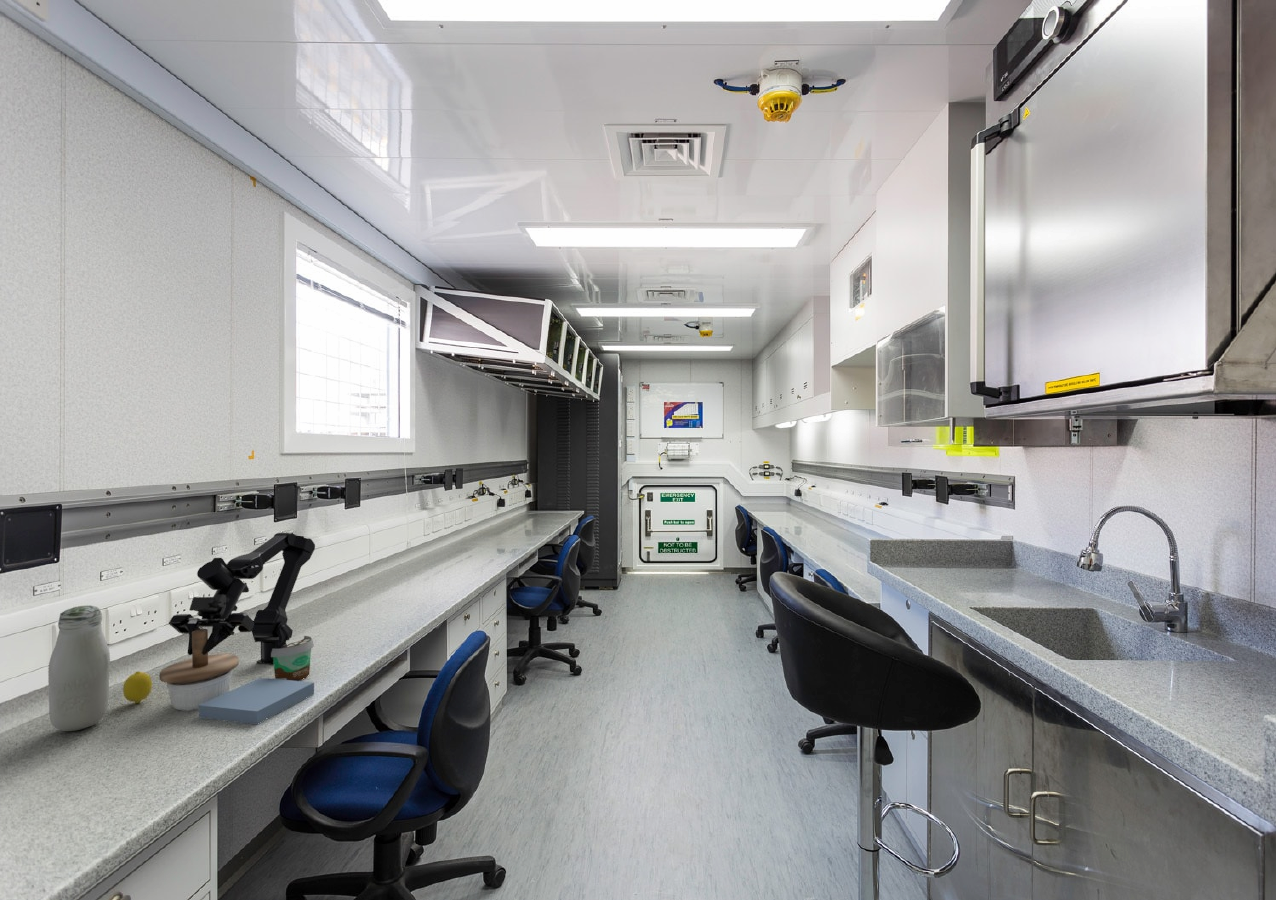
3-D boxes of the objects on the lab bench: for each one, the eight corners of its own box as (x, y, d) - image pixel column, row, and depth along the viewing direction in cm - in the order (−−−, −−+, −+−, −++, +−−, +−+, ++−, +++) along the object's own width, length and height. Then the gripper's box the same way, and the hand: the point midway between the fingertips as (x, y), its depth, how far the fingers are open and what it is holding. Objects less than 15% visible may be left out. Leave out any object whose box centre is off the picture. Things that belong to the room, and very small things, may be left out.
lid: (149, 674, 144) (148, 634, 144) (222, 654, 157) (222, 618, 157) (174, 688, 135) (173, 645, 135) (250, 666, 148) (249, 627, 148)
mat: (198, 717, 137) (198, 705, 137) (260, 688, 153) (260, 677, 153) (257, 724, 133) (257, 711, 133) (314, 693, 149) (314, 682, 149)
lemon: (157, 699, 147) (157, 668, 147) (132, 709, 142) (132, 676, 142) (143, 697, 149) (142, 666, 149) (117, 706, 144) (117, 674, 144)
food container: (290, 687, 154) (290, 650, 154) (271, 686, 155) (270, 649, 155) (324, 670, 166) (324, 636, 166) (306, 669, 167) (305, 635, 167)
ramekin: (205, 713, 139) (205, 684, 139) (152, 713, 139) (152, 685, 139) (244, 690, 152) (244, 664, 152) (195, 690, 153) (195, 664, 153)
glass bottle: (43, 742, 125) (41, 615, 126) (58, 724, 134) (57, 605, 134) (103, 730, 131) (102, 608, 131) (114, 713, 139) (113, 598, 139)
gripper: (173, 583, 150) (138, 640, 139) (246, 582, 150) (217, 638, 139) (196, 605, 157) (165, 660, 146) (265, 604, 158) (239, 658, 147)
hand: (196, 654), depth 145 cm, fingers closed on lid, 3 cm apart
